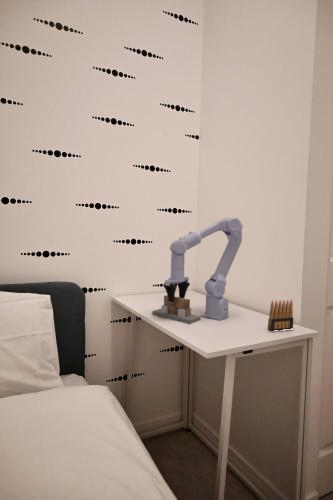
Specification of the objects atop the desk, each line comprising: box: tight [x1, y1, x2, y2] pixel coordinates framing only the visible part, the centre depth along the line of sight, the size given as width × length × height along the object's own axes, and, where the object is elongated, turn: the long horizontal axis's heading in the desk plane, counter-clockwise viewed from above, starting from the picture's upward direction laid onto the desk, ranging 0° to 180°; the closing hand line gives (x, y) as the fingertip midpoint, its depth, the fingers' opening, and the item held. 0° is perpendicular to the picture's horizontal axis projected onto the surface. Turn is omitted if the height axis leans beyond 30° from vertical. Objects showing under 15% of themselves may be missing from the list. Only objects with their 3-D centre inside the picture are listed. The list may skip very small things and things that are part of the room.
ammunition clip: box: [267, 299, 294, 332], centre depth 122 cm, size 11×2×12 cm, turn 110°
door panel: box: [163, 294, 191, 317], centre depth 136 cm, size 12×3×7 cm, turn 52°
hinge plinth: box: [151, 304, 202, 325], centre depth 136 cm, size 20×8×4 cm, turn 52°
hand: (176, 300), depth 136 cm, fingers open, 7 cm apart
